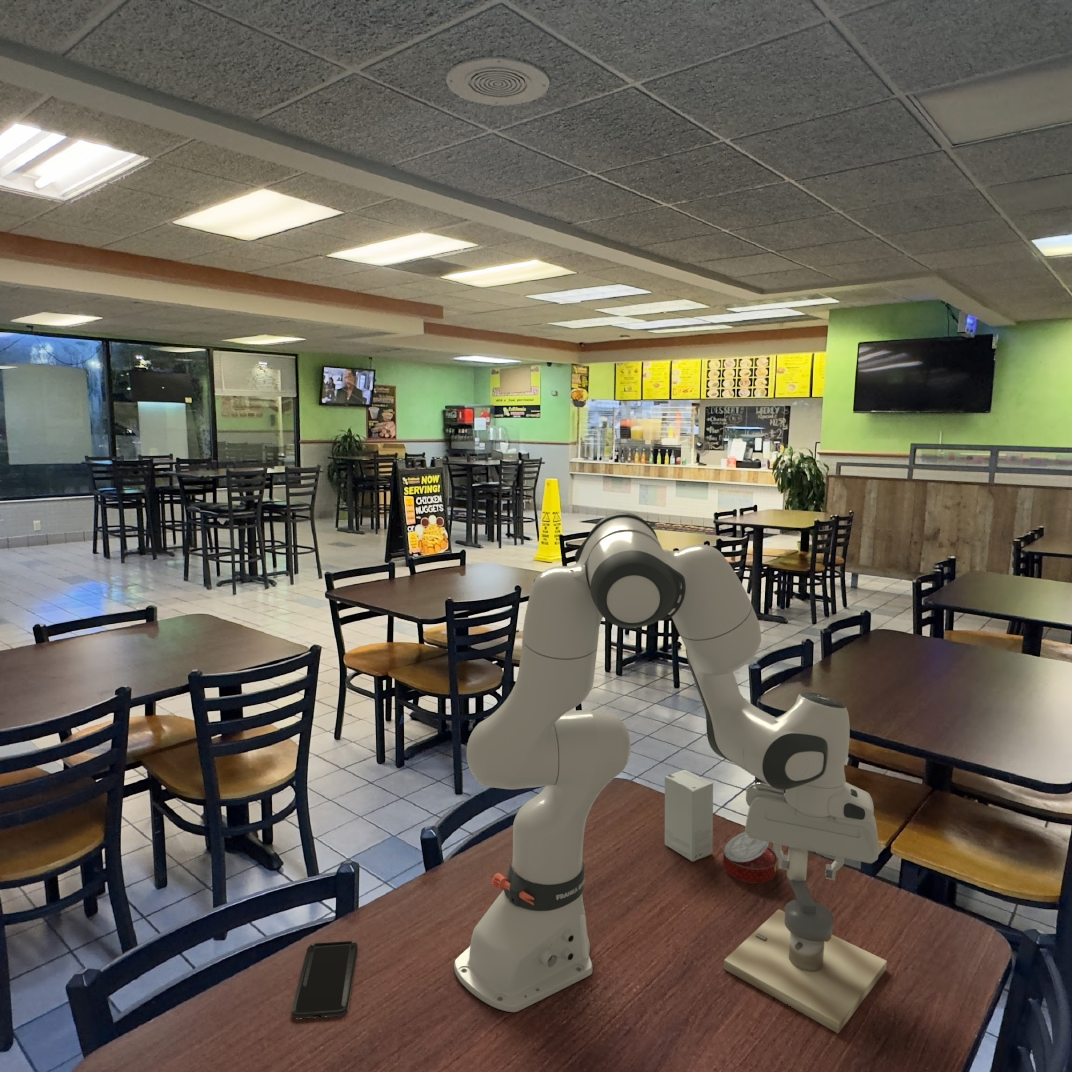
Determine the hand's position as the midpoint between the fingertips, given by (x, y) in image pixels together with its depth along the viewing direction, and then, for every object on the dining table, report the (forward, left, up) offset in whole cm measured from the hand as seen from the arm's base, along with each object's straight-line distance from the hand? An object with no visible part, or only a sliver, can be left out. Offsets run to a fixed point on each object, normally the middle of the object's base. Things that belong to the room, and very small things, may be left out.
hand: (806, 872), depth 124 cm
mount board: (-6, -4, -12) cm, 14 cm away
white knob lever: (-4, -2, -5) cm, 6 cm away
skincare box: (+10, +28, -12) cm, 32 cm away
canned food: (+13, +16, -12) cm, 24 cm away
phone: (-60, +46, -12) cm, 77 cm away
